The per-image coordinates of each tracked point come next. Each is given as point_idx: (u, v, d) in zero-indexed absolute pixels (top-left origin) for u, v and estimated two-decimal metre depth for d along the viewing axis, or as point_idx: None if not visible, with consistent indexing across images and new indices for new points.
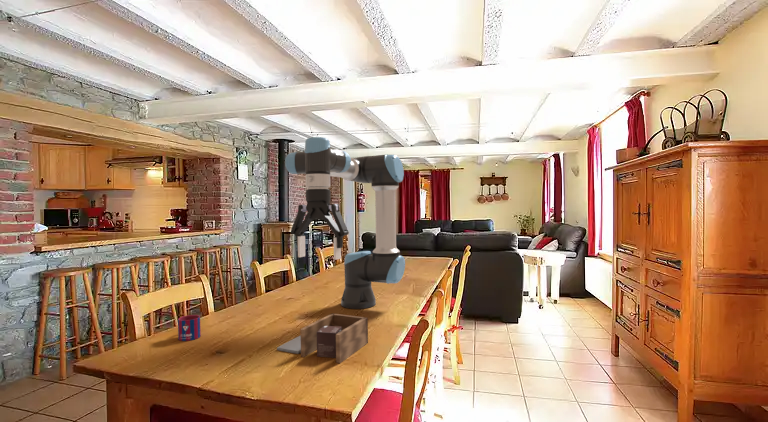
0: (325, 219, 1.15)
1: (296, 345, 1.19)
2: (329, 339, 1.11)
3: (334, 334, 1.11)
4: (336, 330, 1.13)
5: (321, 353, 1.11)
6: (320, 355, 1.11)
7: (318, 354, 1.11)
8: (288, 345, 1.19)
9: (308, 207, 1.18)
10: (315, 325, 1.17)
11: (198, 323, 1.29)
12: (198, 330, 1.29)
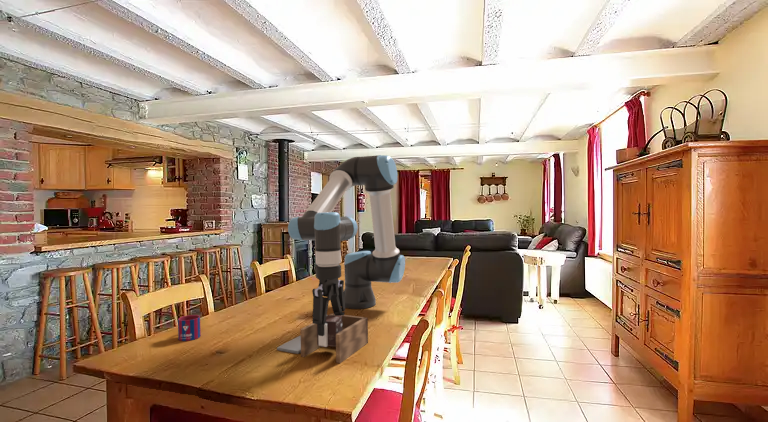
0: None
1: (296, 345, 1.19)
2: (329, 327, 1.11)
3: (334, 323, 1.11)
4: (336, 319, 1.13)
5: None
6: None
7: (318, 343, 1.12)
8: (288, 345, 1.19)
9: None
10: (315, 325, 1.17)
11: (198, 323, 1.29)
12: (198, 330, 1.29)
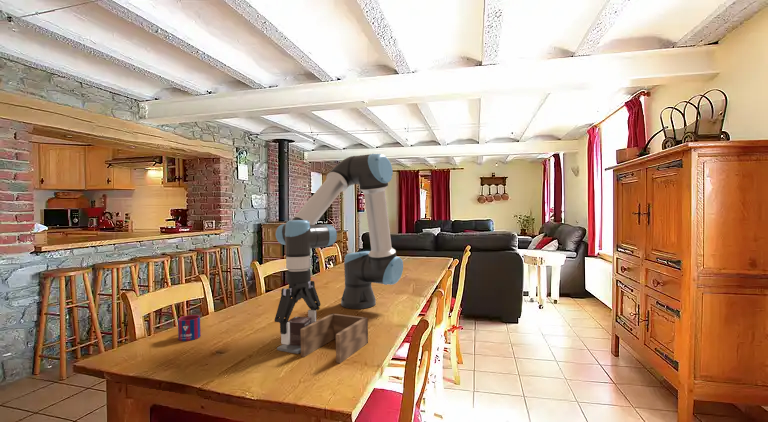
0: None
1: None
2: (298, 328, 1.18)
3: (302, 324, 1.17)
4: (305, 320, 1.20)
5: (290, 341, 1.18)
6: (290, 344, 1.18)
7: None
8: (288, 345, 1.19)
9: None
10: (315, 325, 1.17)
11: (198, 323, 1.29)
12: (198, 330, 1.29)
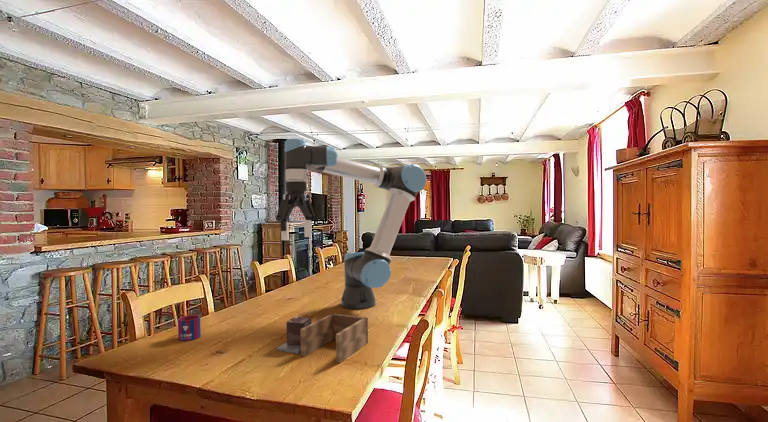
0: (287, 206, 1.40)
1: None
2: (298, 328, 1.18)
3: (302, 324, 1.17)
4: (305, 320, 1.20)
5: (290, 341, 1.18)
6: (290, 344, 1.18)
7: (288, 343, 1.19)
8: (288, 345, 1.19)
9: None
10: (315, 325, 1.17)
11: (198, 323, 1.29)
12: (198, 330, 1.29)
